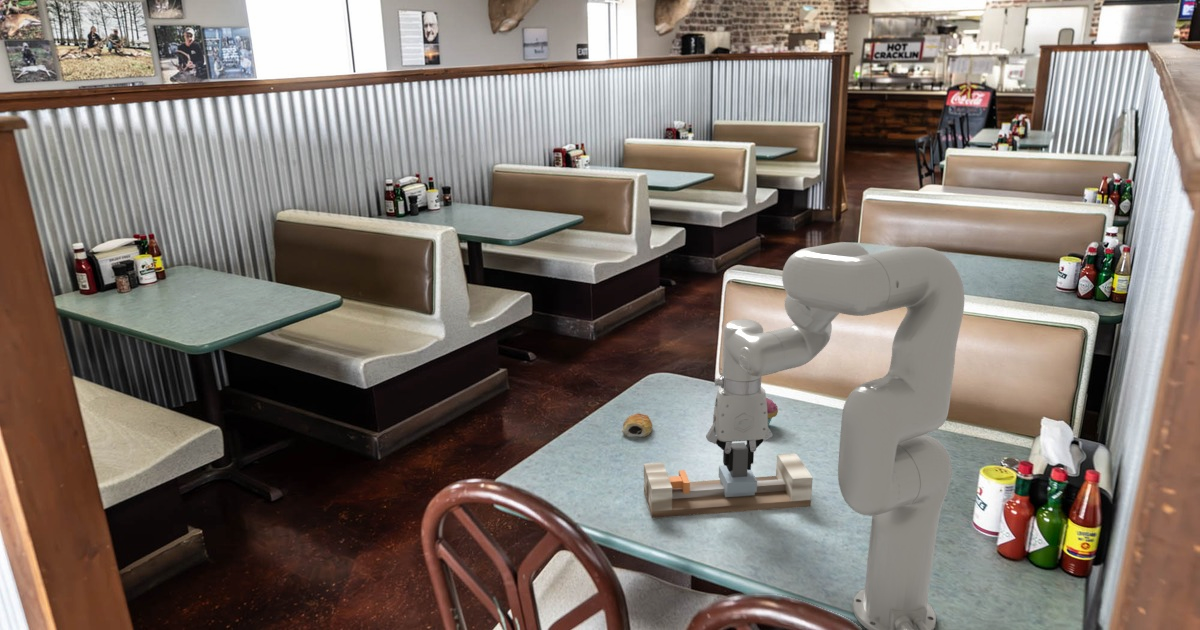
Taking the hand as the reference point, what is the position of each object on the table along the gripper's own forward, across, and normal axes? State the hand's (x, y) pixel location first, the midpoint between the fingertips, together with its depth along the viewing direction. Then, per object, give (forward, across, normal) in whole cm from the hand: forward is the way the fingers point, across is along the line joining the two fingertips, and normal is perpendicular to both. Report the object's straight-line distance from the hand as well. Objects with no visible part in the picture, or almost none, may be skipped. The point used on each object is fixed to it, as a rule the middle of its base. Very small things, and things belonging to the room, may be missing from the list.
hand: (738, 466), depth 164 cm
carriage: (+5, 0, 0) cm, 5 cm away
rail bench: (+7, -2, 0) cm, 8 cm away
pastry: (+8, -16, +33) cm, 37 cm away
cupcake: (+7, +14, +31) cm, 35 cm away
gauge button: (+4, -13, 0) cm, 14 cm away
